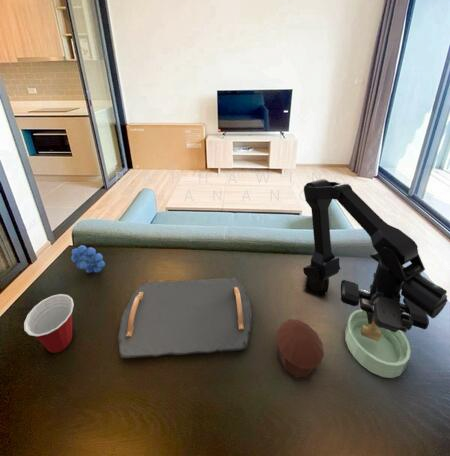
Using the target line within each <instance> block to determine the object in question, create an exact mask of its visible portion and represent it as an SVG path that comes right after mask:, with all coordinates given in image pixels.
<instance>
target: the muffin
mask: <svg viewBox="0 0 450 456" xmlns="http://www.w3.org/2000/svg"><path fill="white" fill-rule="evenodd" d="M276 344H277V348H278V349H277V350H278V357H279V360H280V362H281V364H282V366H283V368H284V371H286V372H287V373H289V374H290V375H292V376H293V377H294V378H295V379H298V378H299V379H300V378H306V379H307V378H308V377H309V375H310V374H311V372H313V371H314V370H315V369H316V367H317V366H319V365H320V364H321V363H322V360H323V358H324V355H325V352H324V345H323V341H322V340H321V338H320V336H319V335H318V333H317V331H315V330H314V329H313V328H312V327H311V326H310V325H309V324H307V323H306V322H304V321H301V320H300V319H291V318H290V319H288V320H286V321H284V322H281V323H280V325H279V327H278V328H277V329H276Z"/></svg>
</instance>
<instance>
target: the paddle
mask: <svg viewBox="0 0 450 456" xmlns="http://www.w3.org/2000/svg"><path fill="white" fill-rule="evenodd" d="M373 312H374V309H373ZM377 328H378V326H377V325H376V324H375V322H374V314H372V320H371V323H370V324H369V326H365V325H363V326H362V330H361V335H362V336H365V337H368V338H370V339H373V340H376V341H379V340H380V337H381V335H382V334H381V331H379V330H377Z"/></svg>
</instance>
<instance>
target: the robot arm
mask: <svg viewBox="0 0 450 456" xmlns="http://www.w3.org/2000/svg"><path fill="white" fill-rule="evenodd" d="M303 194H304V198H305V202H306V204H307V205H308V206H309V207H310V209H311V220H312V232H313V243H314V252H313V254H312V256H311V258H310V264H308V265H306V266H305V267H302V269H303V274H304V276H305V277H306V280H305V286H304V291H305V293H308V294H311V295H314V296H317V297H320V298H323V299H325V298H326V294H328V292H329V291H328V290H329V287H330V278H331V277H333V276H336V275H337V274H338V273H339V272H340V270H341V267H340V266H341V265H340V258H339V257H338V256H336V255H335V254H334V253H333V251H332V242H331V229H330V214H329V207H330V205H331V203H332V201H333V200H334V201H335V200H336V201H337V202H338V203H339V204H340V205H341V206H342V208H343V209H344V210H345V211H346V212H347V214H349V215H350V216H351V217H352V218H353V219H354V220H355V221H356V222H357V224H358V225H359V226H360V227H361V228H362V229H363V230H364V231H365V232H366V234H367V235H368V236H369V238H370V241H371V244H372V247H373V249H374V250H375V252H373V253H371V254H369V256H370V258H372V259H373V260H374V261H376V262H377V265H376V266H377V267H376V270H375V272H373V280H372V283H371V284H370V286H369V289H370V290H369V291H368V290H364V289H361V290H359V289H360V288H359V283H357V282H354V281H350V280H347V279H342V280H341V282H340V301H341V302H342V303H343V304H345V305H348V306H351V307H357V306H359V308H360V310H363V311H366V314H367V318H368V324H370V323H371V320H372V314H374V322H375V324H376V325H377V326H378V327H379V328H384V329H387V330H390V331H392V332H397V331H398V330H400V331H402V332H403V333H407V331H410V330H411V329H412V327H415V328H419V329H421V330H427V329H428V327H429V325H430V319H435V318H437V316H438V315H439V314H440V313H441V312H442V311H443V310H444V308H445V307H446V305H447V302H448V301H449V300H448V295H447V293H448V291H447V290H446V289H445V288H443V287H442V286H440V285H438V284H436V283H434V282H432V281H431V280H429V279H428V278H427V277H426V276H423V275H422V273H423V272H424V271H425V270H426V268H425V266H424V264H423V261H422V258H421V256H420V254H419V249H418V248H419V247H418V244H417V243H416V241H415V240H414V239H412V238H411V237H410V236H409V235H407V234H406V233H405V232H403V231H402V230H401V229H399V228H397V227H395V226H393V225H390V224H388V223H387V222H386V221H385V220H384V219H382V218H381V216H380V215H378V214H377V213H376V212H375V211H374V210H373V209H372V208H371V207H370V206H369V205H368V204H367V203H366V202H365V201H364V200H363V199H362V198H361V197H360V196H359V195H358V194H357V193H356V191H354V190H353V188H352V186H351V185H350V184H349V183H345V182H342V183H341V182H338V181H330V180H327V179H326V178H321V179H317V180H314V181H310V182H307V183H306V184H305V185H304V186H303ZM409 262H410V264H408V265H407V266H404V265H406V264H407V263H409ZM402 297H403V299H402V301H401V298H402ZM373 310H374V312H373ZM429 317H430V319H429Z"/></svg>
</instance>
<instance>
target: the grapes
mask: <svg viewBox="0 0 450 456" xmlns="http://www.w3.org/2000/svg"><path fill="white" fill-rule="evenodd" d="M103 259H104V257H103V255H102V253H100V252H99V253H98V252H97V253H96V249H95V248H94V247H87V246H86V245H79V246H77V247H76V248H72V250H71V257H70V260H71V262H72V263H75V264H76V268H77V269H79V270H83V271H85V272H86V273H87V274H91V273H93V272H94V273H96V274H98V273H100V272H102V269H103V268H105V267H106V263H105V261H104V260H103Z"/></svg>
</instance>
